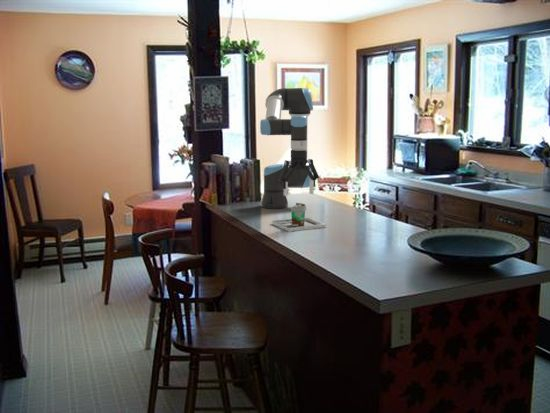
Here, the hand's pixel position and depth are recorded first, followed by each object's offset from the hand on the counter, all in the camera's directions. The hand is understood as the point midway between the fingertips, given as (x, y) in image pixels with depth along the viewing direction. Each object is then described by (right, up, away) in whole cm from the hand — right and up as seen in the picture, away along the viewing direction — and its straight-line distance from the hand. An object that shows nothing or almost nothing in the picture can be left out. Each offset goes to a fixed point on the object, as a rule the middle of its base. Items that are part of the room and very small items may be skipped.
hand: (298, 194), depth 283 cm
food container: (+1, -15, +2) cm, 15 cm away
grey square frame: (0, -15, +2) cm, 15 cm away
